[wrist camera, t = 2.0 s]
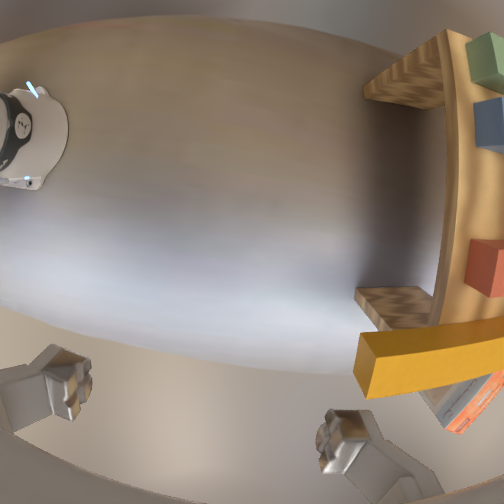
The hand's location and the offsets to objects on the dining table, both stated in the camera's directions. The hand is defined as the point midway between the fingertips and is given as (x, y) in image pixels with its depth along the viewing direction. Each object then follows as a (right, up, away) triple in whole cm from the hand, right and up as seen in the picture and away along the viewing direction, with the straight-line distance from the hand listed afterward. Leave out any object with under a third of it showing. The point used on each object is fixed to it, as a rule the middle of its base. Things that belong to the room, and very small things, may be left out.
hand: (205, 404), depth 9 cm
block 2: (+24, +16, +11) cm, 31 cm away
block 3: (+24, +4, +14) cm, 28 cm away
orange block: (+20, -4, +15) cm, 26 cm away
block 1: (+24, +22, +9) cm, 34 cm away
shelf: (+24, +14, +36) cm, 45 cm away
